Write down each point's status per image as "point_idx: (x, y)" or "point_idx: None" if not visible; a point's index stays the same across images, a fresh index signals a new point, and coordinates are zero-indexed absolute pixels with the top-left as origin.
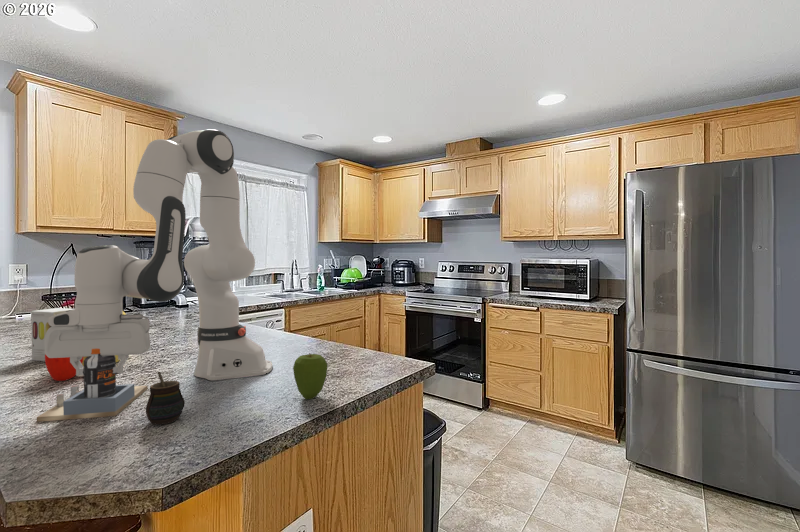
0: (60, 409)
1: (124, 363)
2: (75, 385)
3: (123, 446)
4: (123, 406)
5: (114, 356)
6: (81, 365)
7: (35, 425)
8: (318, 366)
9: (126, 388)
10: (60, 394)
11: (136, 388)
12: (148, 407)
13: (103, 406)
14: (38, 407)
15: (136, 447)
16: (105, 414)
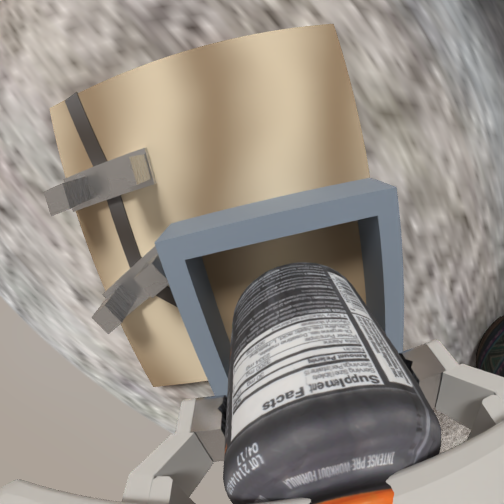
0: (163, 334)
1: (471, 369)
2: (53, 191)
3: (445, 430)
4: None
5: (440, 442)
6: (189, 449)
7: (178, 395)
8: None
9: (394, 264)
10: (104, 317)
11: (308, 63)
12: None
13: None
14: (40, 266)
15: (462, 426)
16: None
